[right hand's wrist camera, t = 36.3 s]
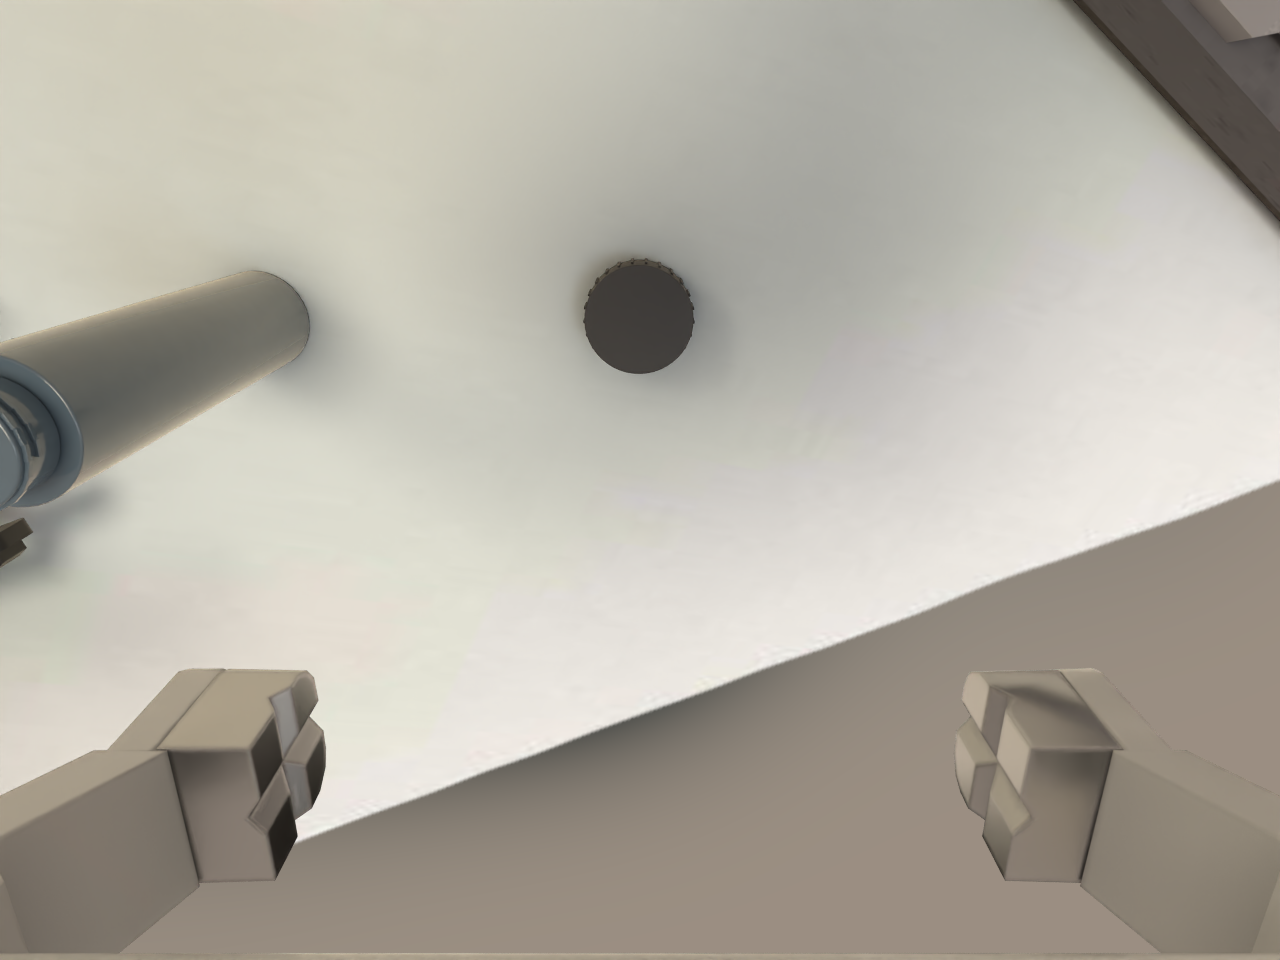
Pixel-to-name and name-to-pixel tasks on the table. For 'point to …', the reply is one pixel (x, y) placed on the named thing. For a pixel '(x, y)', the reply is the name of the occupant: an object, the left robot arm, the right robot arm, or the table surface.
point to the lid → (639, 316)
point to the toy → (1210, 73)
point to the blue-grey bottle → (134, 378)
